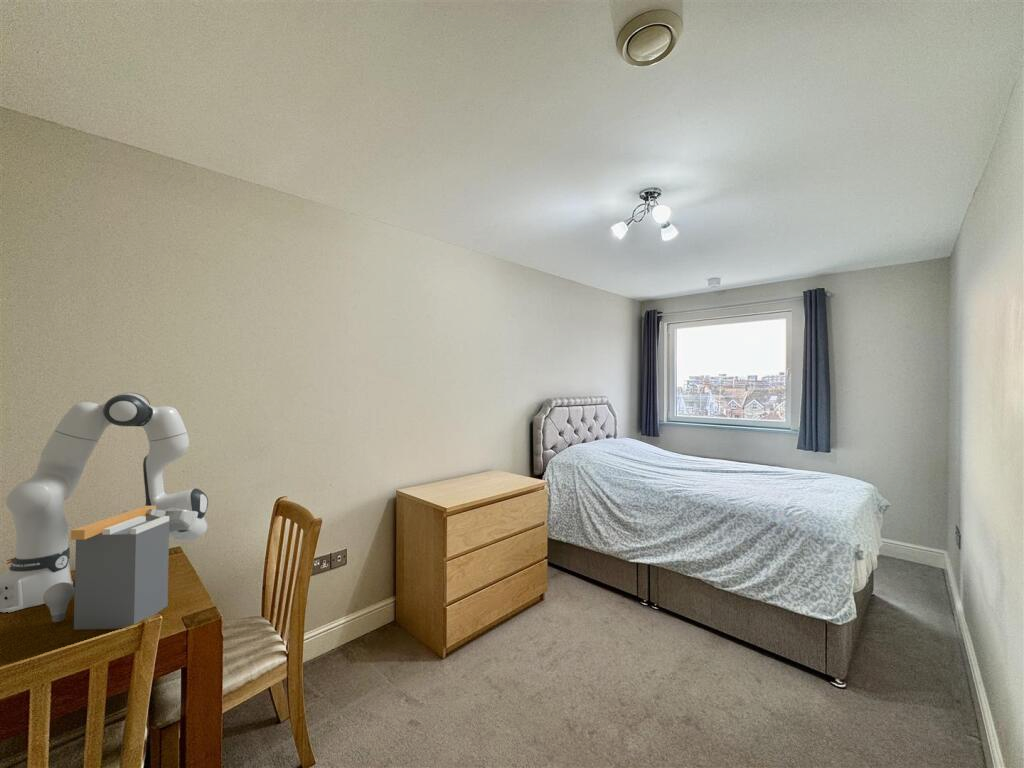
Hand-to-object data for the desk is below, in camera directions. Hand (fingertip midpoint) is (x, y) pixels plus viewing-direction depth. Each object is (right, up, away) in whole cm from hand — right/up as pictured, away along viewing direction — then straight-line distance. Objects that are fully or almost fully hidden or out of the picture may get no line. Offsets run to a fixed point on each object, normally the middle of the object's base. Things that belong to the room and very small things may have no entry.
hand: (141, 511), depth 132 cm
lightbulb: (-12, -28, -13) cm, 33 cm away
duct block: (+4, -28, -11) cm, 30 cm away
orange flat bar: (0, -2, -8) cm, 8 cm away
